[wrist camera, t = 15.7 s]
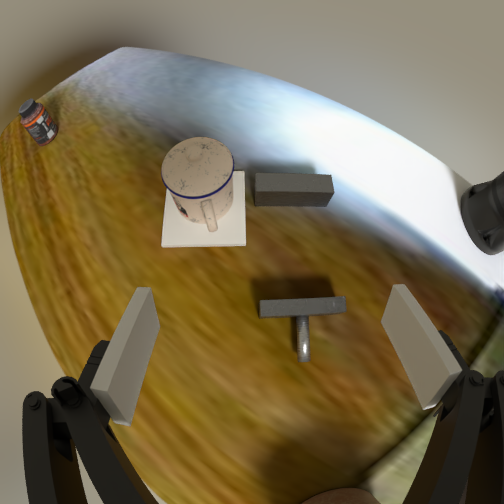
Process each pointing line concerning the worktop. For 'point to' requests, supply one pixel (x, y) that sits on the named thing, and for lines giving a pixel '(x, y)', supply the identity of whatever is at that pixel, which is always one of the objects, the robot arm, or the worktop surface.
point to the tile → (197, 235)
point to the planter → (343, 497)
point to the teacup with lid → (200, 179)
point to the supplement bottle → (38, 122)
